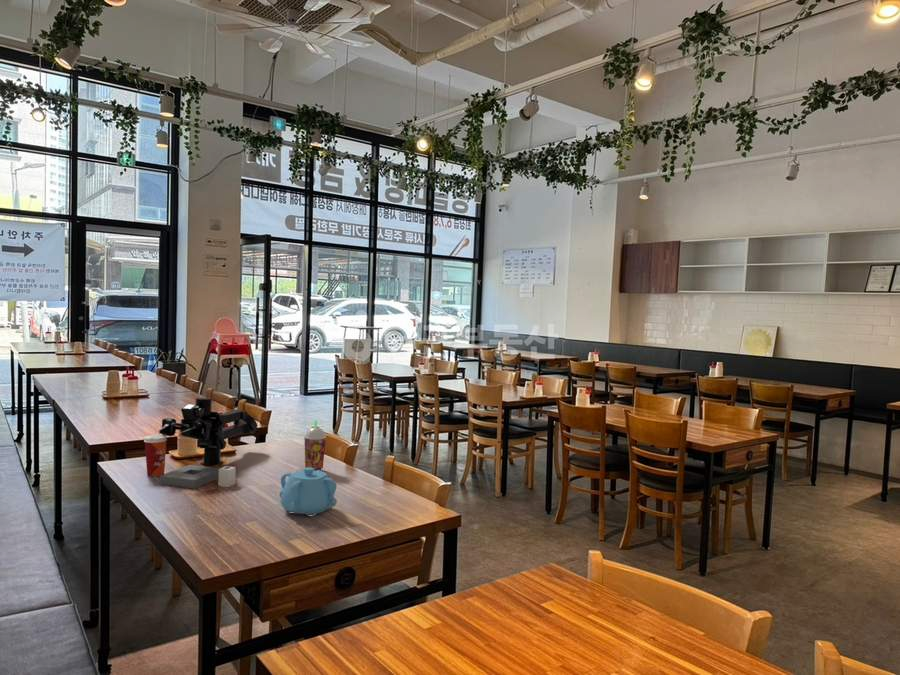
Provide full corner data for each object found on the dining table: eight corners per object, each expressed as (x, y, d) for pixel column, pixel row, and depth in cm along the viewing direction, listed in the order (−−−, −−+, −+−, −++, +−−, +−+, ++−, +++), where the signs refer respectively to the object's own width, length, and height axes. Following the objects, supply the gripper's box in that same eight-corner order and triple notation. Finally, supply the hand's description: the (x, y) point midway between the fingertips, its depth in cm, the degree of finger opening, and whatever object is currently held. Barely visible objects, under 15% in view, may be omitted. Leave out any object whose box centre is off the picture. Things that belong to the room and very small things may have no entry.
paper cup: (161, 477, 218) (161, 439, 218) (140, 477, 218) (139, 438, 218) (171, 471, 226) (171, 434, 226) (150, 471, 226) (150, 434, 226)
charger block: (225, 482, 217) (225, 465, 217) (235, 483, 216) (235, 466, 216) (218, 485, 213) (218, 468, 213) (228, 487, 212) (229, 469, 212)
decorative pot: (328, 500, 203) (329, 460, 203) (338, 516, 188) (340, 473, 188) (278, 504, 197) (279, 463, 196) (284, 521, 182) (286, 476, 181)
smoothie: (301, 468, 239) (302, 418, 238) (322, 467, 243) (324, 418, 242) (305, 474, 232) (307, 422, 231) (327, 473, 235) (329, 422, 234)
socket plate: (189, 472, 227) (189, 464, 227) (222, 476, 224) (222, 468, 224) (159, 484, 212) (160, 475, 211) (195, 488, 208) (195, 480, 208)
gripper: (177, 402, 232) (148, 408, 217) (220, 406, 228) (194, 412, 213) (176, 431, 233) (147, 438, 217) (219, 435, 229) (193, 444, 213)
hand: (170, 432), depth 215 cm, fingers open, 9 cm apart
